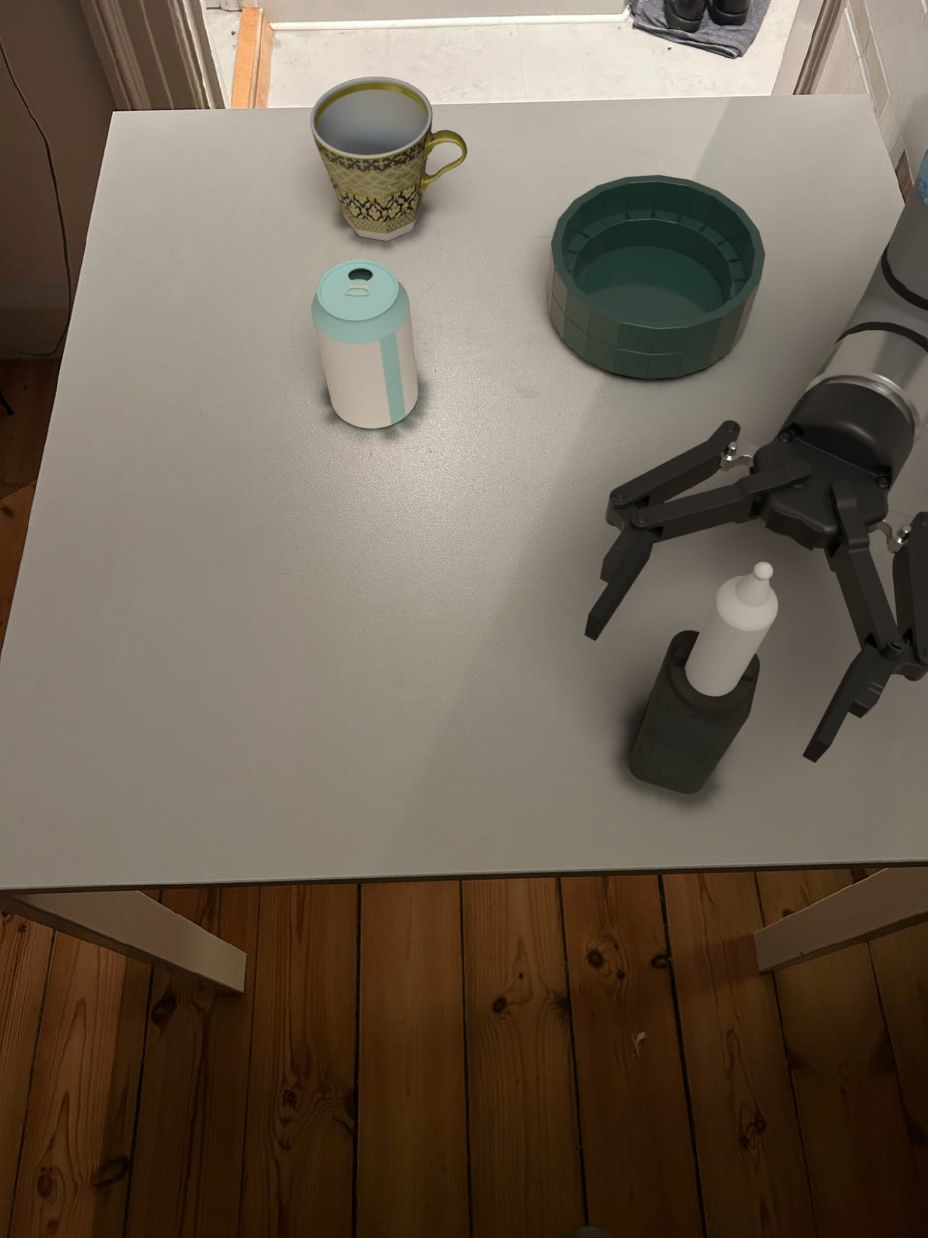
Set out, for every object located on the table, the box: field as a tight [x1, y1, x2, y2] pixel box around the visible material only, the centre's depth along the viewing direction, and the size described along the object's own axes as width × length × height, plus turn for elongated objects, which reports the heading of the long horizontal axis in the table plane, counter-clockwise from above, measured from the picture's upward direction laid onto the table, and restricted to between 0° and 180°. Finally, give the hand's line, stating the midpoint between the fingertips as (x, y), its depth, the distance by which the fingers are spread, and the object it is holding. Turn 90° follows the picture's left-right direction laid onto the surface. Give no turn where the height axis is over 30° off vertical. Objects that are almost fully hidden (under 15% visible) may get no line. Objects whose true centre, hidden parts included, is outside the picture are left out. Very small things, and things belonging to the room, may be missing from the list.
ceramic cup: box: [309, 76, 468, 242], centre depth 85 cm, size 13×10×10 cm
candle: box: [628, 561, 779, 795], centre depth 55 cm, size 5×5×25 cm
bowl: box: [546, 174, 766, 380], centre depth 81 cm, size 17×17×6 cm
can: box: [311, 258, 419, 429], centre depth 75 cm, size 7×7×12 cm
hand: (699, 688), depth 54 cm, fingers open, 13 cm apart
